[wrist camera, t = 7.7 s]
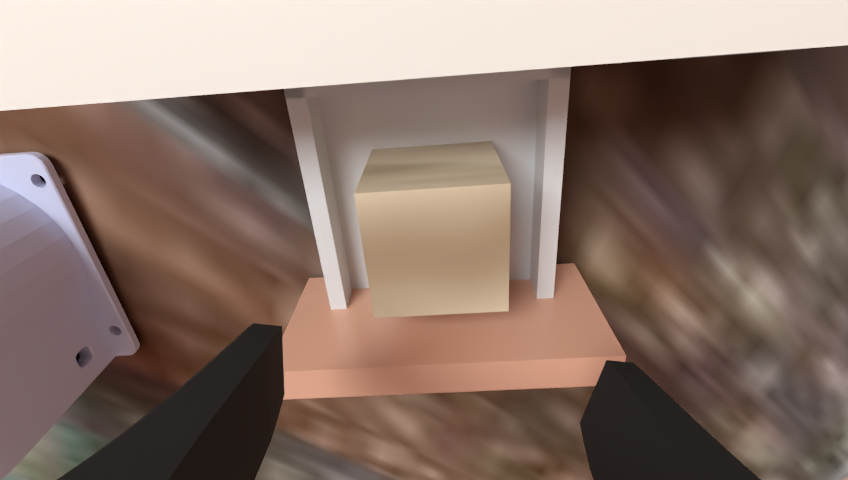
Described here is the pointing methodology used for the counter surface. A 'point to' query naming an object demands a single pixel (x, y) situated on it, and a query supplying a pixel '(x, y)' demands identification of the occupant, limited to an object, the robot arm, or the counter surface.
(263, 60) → the cabinet
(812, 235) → the counter surface
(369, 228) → the maple cube
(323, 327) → the drawer
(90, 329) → the robot arm
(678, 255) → the counter surface
